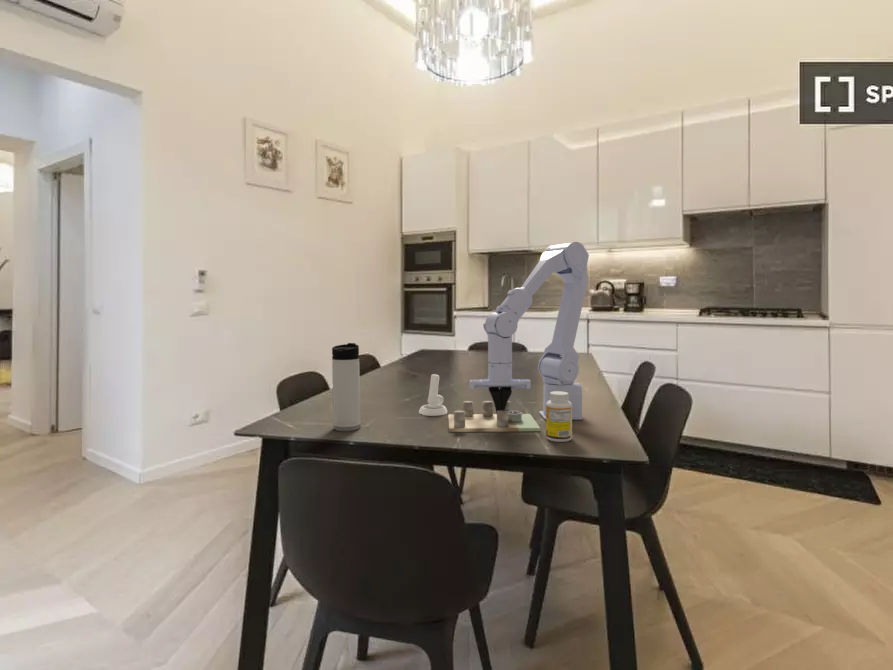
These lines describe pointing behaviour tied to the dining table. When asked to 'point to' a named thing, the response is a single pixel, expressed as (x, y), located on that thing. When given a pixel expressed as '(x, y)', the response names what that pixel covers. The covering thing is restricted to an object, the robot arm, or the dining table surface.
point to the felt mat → (528, 423)
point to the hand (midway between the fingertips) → (499, 417)
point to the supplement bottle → (559, 417)
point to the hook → (434, 400)
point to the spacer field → (481, 419)
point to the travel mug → (346, 387)
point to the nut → (514, 416)
